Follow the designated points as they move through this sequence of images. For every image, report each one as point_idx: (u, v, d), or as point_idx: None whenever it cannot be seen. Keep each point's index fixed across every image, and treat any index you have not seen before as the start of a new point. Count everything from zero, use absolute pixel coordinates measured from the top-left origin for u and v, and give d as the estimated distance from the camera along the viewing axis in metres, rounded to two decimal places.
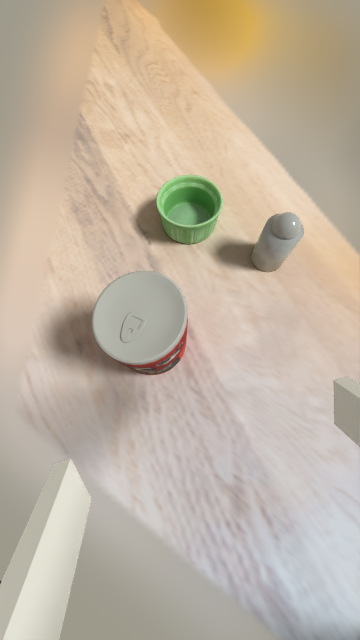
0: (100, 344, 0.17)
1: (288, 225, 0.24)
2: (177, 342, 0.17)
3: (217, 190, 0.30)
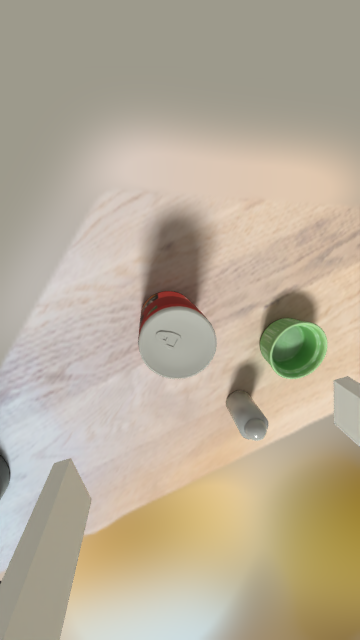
0: (153, 318, 0.21)
1: (253, 433, 0.31)
2: None
3: (304, 374, 0.34)
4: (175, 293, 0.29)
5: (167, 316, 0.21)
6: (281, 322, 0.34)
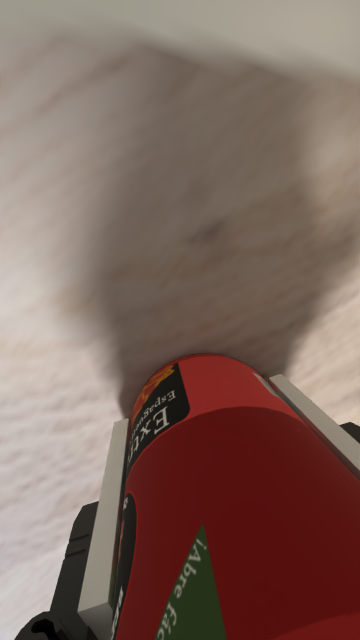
0: None
1: None
2: None
3: None
4: (233, 370, 0.10)
5: None
6: None
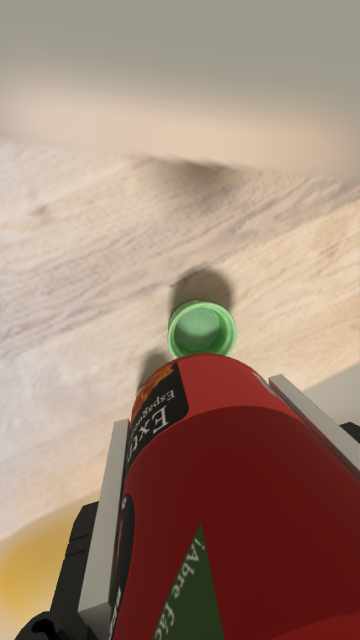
0: None
1: None
2: None
3: None
4: (232, 369, 0.10)
5: None
6: (186, 304, 0.29)
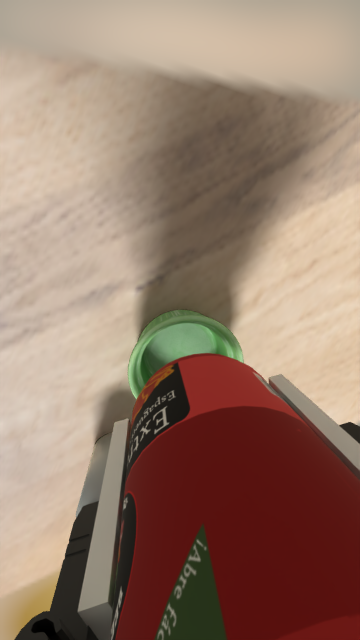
0: None
1: None
2: None
3: None
4: (233, 370, 0.10)
5: None
6: (162, 317, 0.18)
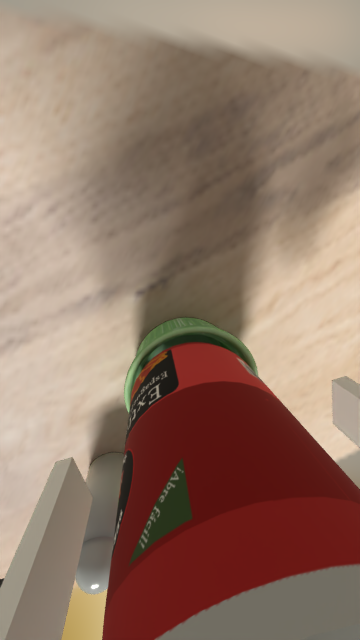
0: None
1: (81, 582, 0.14)
2: None
3: None
4: (218, 355, 0.11)
5: None
6: (163, 327, 0.16)
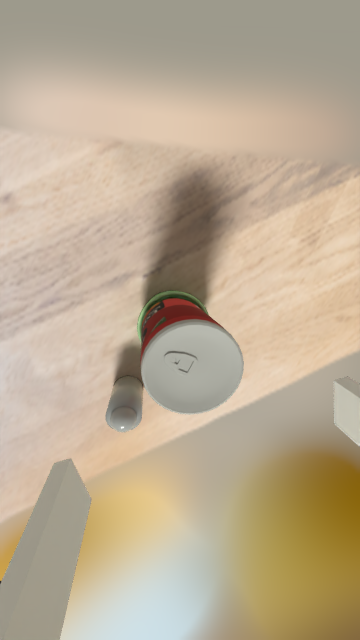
0: (161, 335, 0.15)
1: (115, 423, 0.26)
2: None
3: None
4: (184, 301, 0.24)
5: (180, 332, 0.16)
6: (157, 294, 0.28)
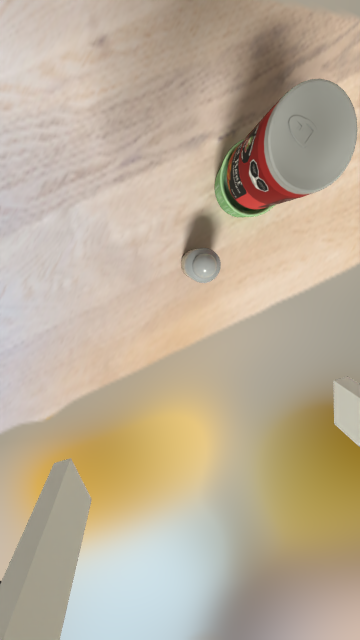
0: (295, 88, 0.17)
1: (200, 263, 0.28)
2: (276, 178, 0.19)
3: (263, 211, 0.30)
4: None
5: (310, 91, 0.17)
6: None
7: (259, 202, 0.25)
